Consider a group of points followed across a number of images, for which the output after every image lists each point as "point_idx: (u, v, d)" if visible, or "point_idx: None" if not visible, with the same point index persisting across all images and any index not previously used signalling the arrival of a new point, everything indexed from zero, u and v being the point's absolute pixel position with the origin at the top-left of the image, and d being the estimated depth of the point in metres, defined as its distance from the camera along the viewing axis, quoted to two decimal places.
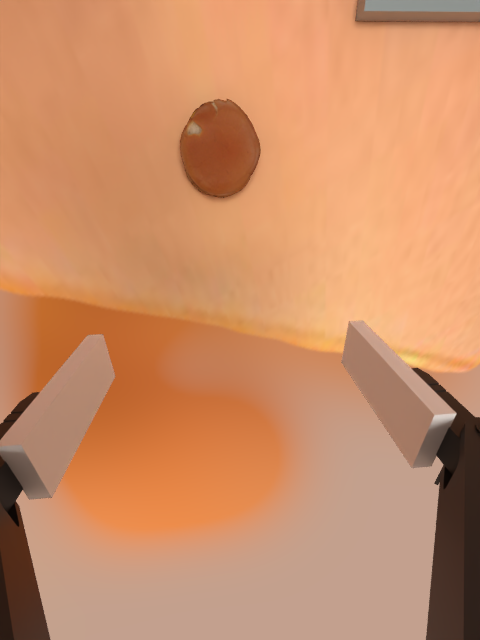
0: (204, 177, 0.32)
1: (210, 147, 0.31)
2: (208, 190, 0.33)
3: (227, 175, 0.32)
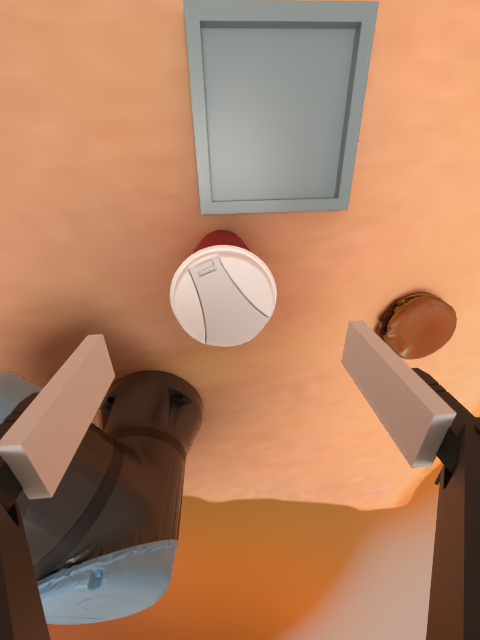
0: (440, 345, 0.37)
1: (421, 341, 0.36)
2: None
3: (447, 329, 0.35)
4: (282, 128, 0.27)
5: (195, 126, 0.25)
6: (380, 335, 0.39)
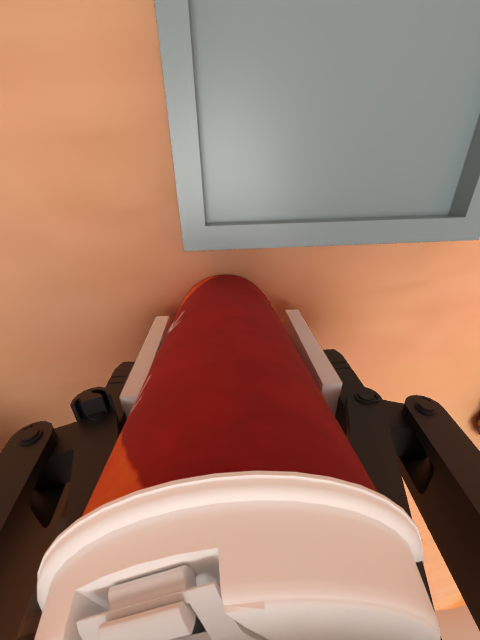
0: None
1: None
2: None
3: None
4: (363, 64, 0.12)
5: (164, 49, 0.10)
6: None
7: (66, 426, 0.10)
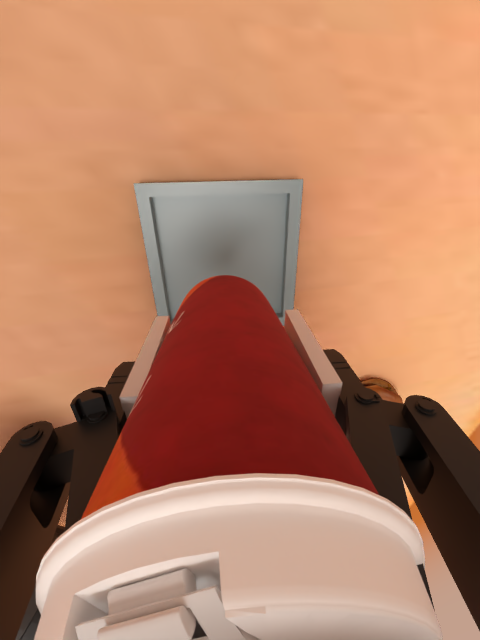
0: None
1: None
2: None
3: None
4: (229, 264, 0.31)
5: (150, 270, 0.29)
6: None
7: (66, 426, 0.10)
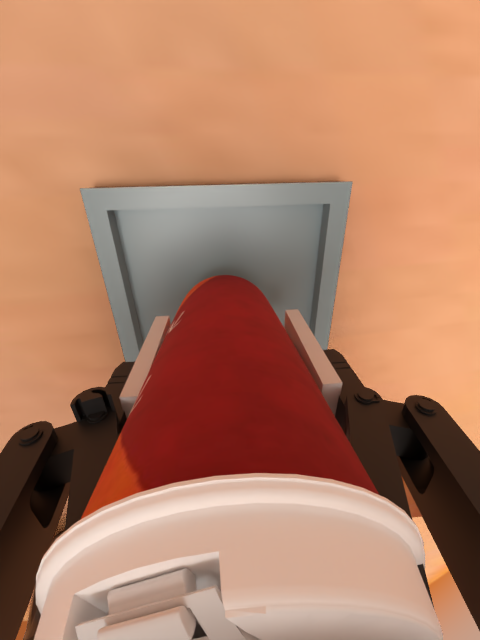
0: None
1: None
2: None
3: None
4: None
5: (116, 317, 0.19)
6: None
7: (66, 426, 0.10)
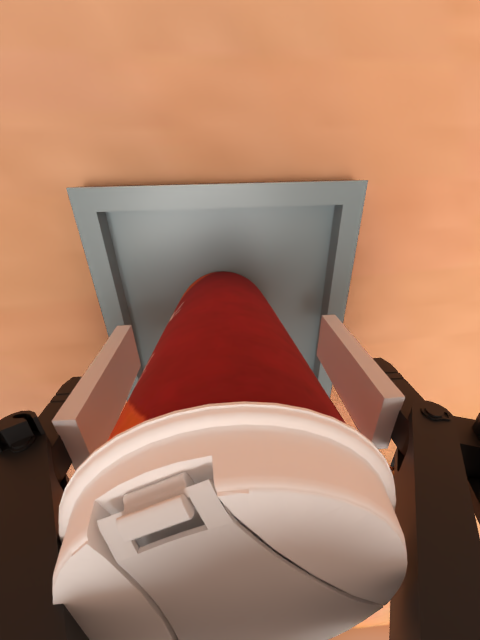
0: None
1: None
2: None
3: None
4: None
5: (108, 327, 0.18)
6: None
7: None
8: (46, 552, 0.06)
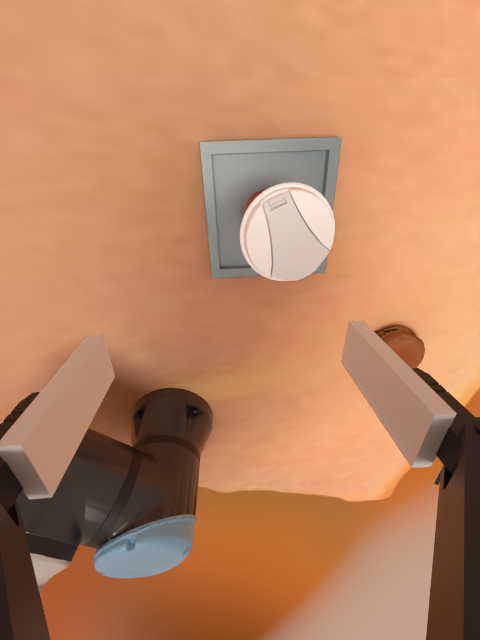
0: None
1: None
2: None
3: (416, 357, 0.44)
4: None
5: (208, 220, 0.34)
6: None
7: None
8: None
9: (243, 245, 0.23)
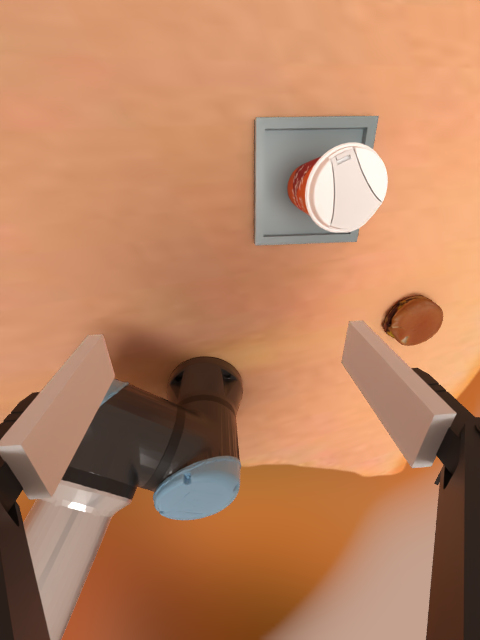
0: (431, 335, 0.50)
1: (417, 332, 0.49)
2: (436, 331, 0.50)
3: (436, 323, 0.48)
4: None
5: (256, 189, 0.38)
6: (386, 327, 0.51)
7: None
8: None
9: (308, 198, 0.27)
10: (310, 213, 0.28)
